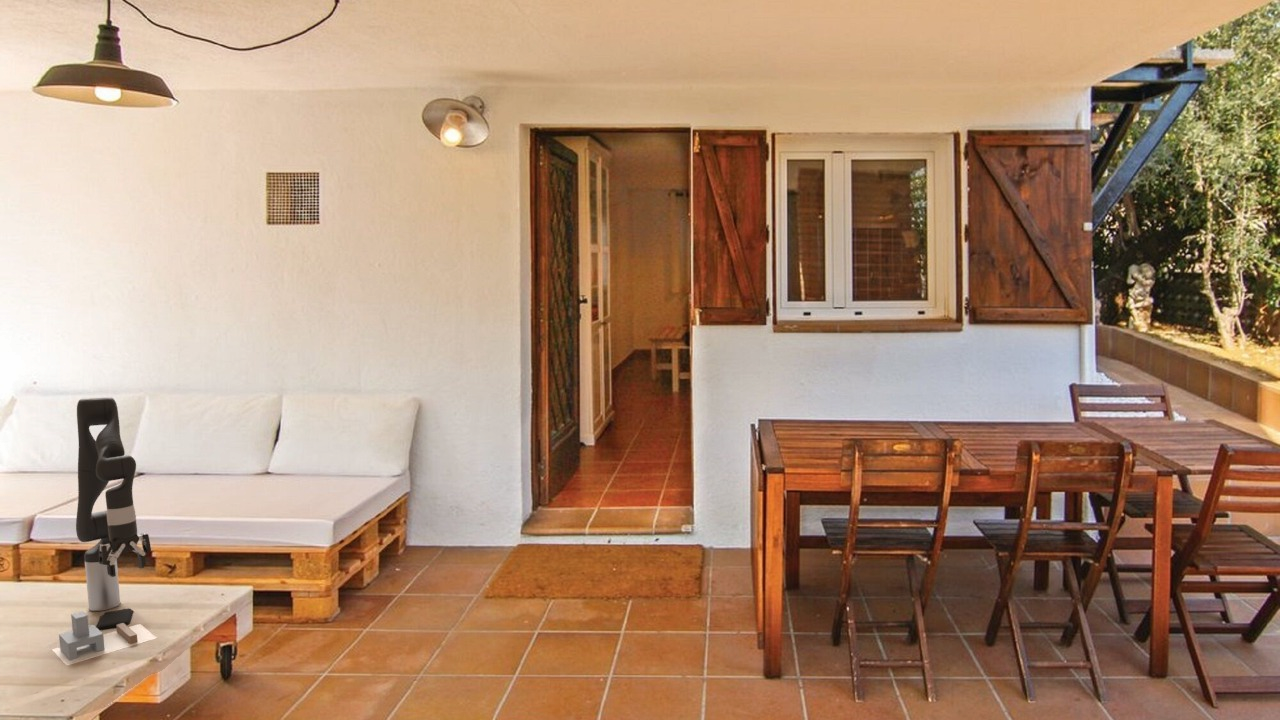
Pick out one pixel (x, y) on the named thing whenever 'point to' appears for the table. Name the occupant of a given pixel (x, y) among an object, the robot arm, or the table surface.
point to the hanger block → (80, 636)
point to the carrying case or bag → (114, 619)
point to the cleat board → (111, 642)
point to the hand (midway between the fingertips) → (127, 572)
